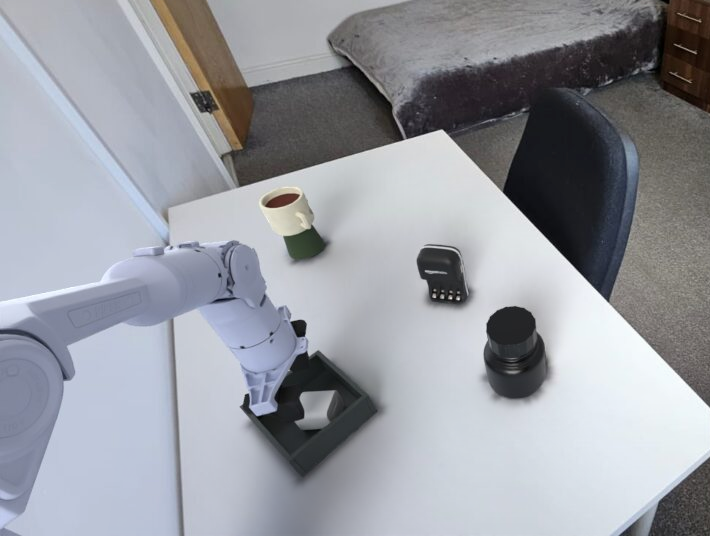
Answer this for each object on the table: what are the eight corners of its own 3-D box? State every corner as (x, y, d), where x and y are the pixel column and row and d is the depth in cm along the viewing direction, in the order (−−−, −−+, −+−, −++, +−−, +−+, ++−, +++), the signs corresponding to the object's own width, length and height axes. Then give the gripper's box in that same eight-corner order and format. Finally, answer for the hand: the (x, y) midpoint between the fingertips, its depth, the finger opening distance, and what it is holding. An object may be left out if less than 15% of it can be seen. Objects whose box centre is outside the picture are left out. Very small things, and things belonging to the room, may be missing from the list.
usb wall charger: (335, 430, 64) (325, 415, 61) (283, 433, 64) (270, 418, 61) (344, 403, 67) (335, 388, 64) (294, 405, 67) (283, 390, 64)
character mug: (342, 250, 92) (318, 197, 83) (309, 272, 87) (280, 218, 78) (307, 231, 96) (281, 178, 87) (274, 251, 91) (243, 197, 83)
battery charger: (425, 304, 82) (410, 257, 74) (433, 288, 85) (419, 241, 77) (464, 308, 81) (453, 261, 74) (470, 292, 84) (461, 245, 77)
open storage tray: (302, 477, 60) (288, 462, 57) (254, 423, 65) (239, 406, 62) (377, 411, 67) (368, 394, 64) (328, 367, 72) (318, 349, 69)
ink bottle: (558, 360, 74) (556, 311, 66) (534, 409, 67) (529, 361, 60) (502, 342, 76) (494, 292, 68) (475, 388, 70) (462, 339, 62)
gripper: (284, 371, 49) (328, 433, 58) (298, 275, 59) (334, 341, 68) (205, 391, 47) (264, 452, 56) (234, 288, 57) (280, 354, 66)
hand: (298, 392), depth 62 cm, fingers open, 7 cm apart
